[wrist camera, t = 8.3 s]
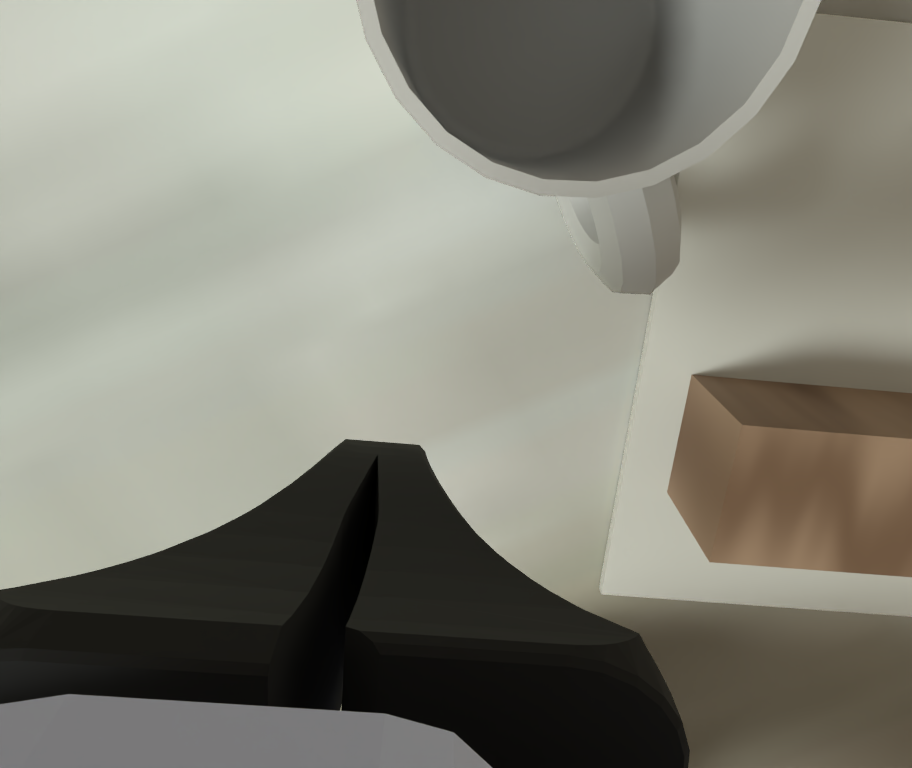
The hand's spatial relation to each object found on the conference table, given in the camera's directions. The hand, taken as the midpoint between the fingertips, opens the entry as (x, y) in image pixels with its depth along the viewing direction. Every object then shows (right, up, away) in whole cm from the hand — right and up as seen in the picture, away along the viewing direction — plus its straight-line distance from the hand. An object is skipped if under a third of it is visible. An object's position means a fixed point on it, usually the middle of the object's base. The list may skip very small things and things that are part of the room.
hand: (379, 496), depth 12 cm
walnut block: (+16, -1, +9) cm, 18 cm away
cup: (+4, +10, +8) cm, 13 cm away
